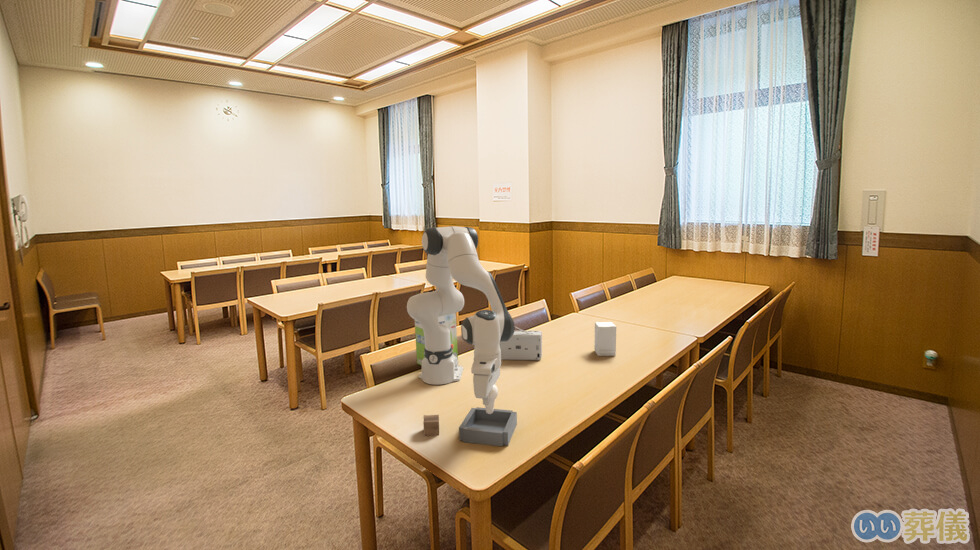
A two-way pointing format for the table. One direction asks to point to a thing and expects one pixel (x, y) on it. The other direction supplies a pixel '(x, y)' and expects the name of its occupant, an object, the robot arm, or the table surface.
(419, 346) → the toothbrush box
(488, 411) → the lightbulb
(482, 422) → the gray square tray
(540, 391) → the table surface
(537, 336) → the stereo radio cassette player
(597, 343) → the supplement box
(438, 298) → the robot arm
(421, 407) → the table surface
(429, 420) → the walnut block
